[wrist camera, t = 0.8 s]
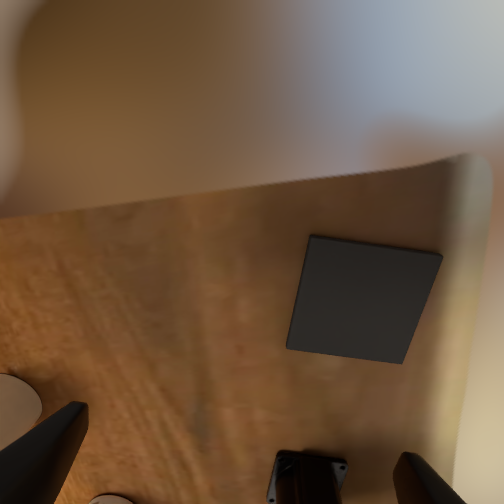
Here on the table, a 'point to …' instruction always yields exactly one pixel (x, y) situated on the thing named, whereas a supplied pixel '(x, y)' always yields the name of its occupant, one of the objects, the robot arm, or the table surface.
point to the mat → (360, 299)
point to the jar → (16, 409)
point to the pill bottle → (109, 500)
